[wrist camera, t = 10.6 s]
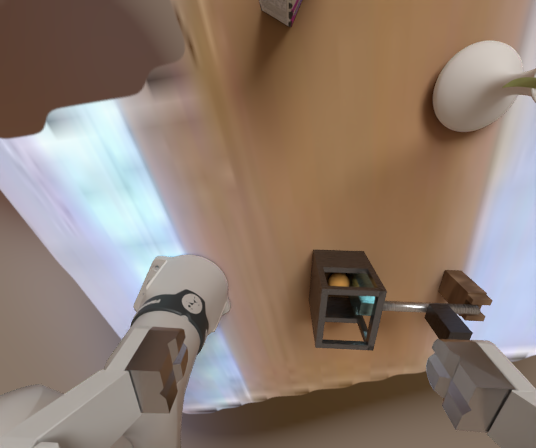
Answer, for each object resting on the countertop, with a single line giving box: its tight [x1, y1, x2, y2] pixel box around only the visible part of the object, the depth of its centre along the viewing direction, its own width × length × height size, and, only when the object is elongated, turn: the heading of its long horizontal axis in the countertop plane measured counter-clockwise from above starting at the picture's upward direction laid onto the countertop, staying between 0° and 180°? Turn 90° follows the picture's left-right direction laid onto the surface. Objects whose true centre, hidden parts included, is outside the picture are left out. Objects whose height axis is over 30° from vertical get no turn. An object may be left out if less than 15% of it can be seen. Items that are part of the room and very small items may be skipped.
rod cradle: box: [438, 270, 492, 321], centre depth 47 cm, size 3×5×8 cm, turn 0°
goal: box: [309, 250, 387, 350], centre depth 46 cm, size 10×12×12 cm
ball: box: [328, 273, 350, 287], centre depth 50 cm, size 4×4×4 cm
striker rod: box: [348, 273, 480, 340], centre depth 44 cm, size 20×6×14 cm, turn 89°
